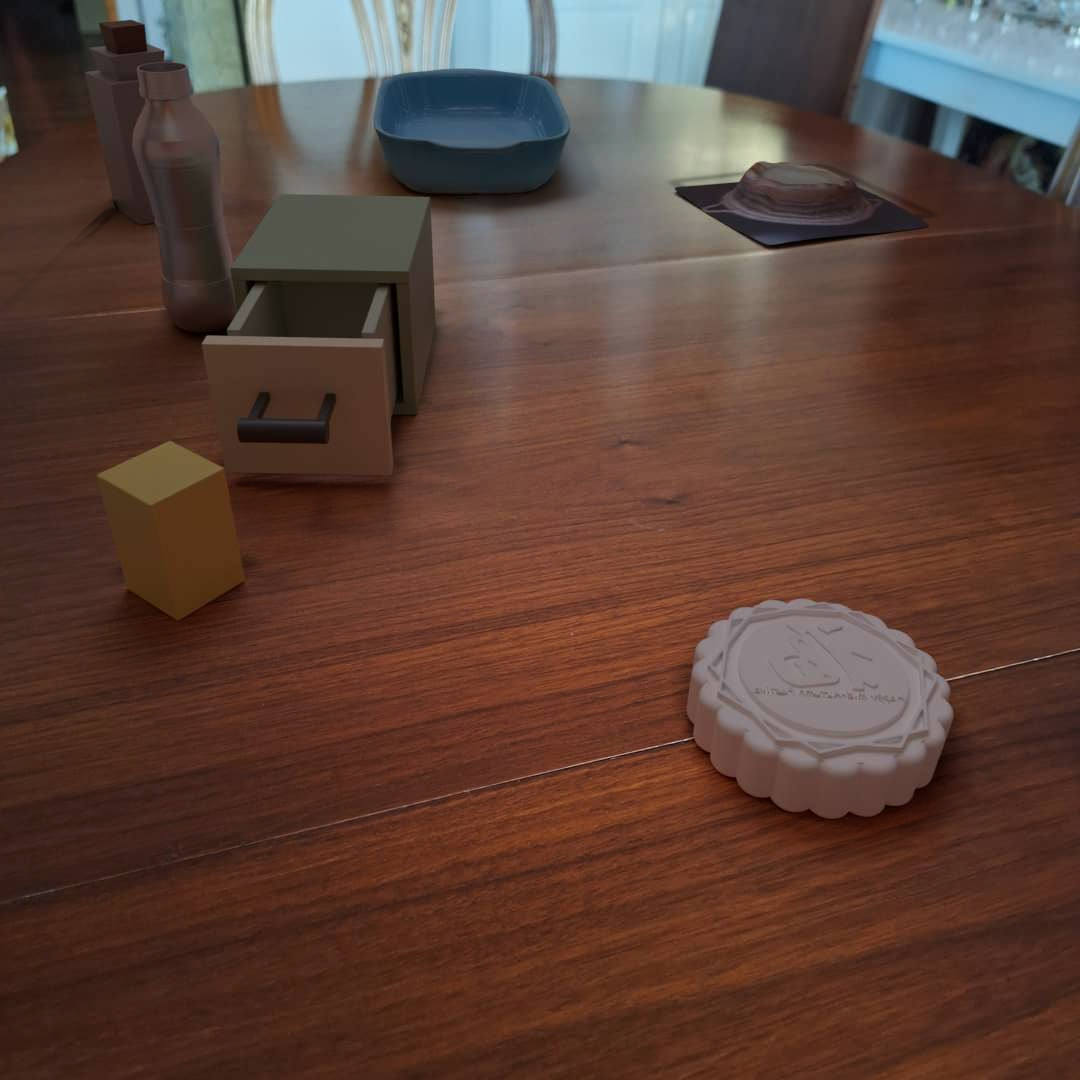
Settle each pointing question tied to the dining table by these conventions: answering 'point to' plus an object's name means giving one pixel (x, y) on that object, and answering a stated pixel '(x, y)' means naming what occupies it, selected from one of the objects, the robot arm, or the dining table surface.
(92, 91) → the perfume bottle
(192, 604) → the block
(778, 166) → the round mound on square
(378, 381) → the drawer
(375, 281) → the cabinet
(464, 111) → the casserole dish
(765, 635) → the mooncake
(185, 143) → the plastic bottle
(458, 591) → the dining table surface
